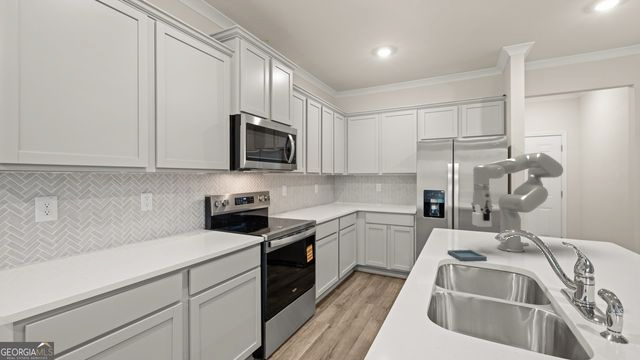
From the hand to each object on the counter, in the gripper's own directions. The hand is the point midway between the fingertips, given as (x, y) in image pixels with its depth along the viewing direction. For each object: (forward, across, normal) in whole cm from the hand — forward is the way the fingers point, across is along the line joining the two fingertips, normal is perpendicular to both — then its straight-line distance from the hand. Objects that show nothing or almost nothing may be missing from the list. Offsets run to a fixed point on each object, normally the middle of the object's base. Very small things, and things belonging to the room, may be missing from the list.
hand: (481, 219), depth 151 cm
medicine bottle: (+4, 0, 0) cm, 4 cm away
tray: (+18, -9, +14) cm, 25 cm away
